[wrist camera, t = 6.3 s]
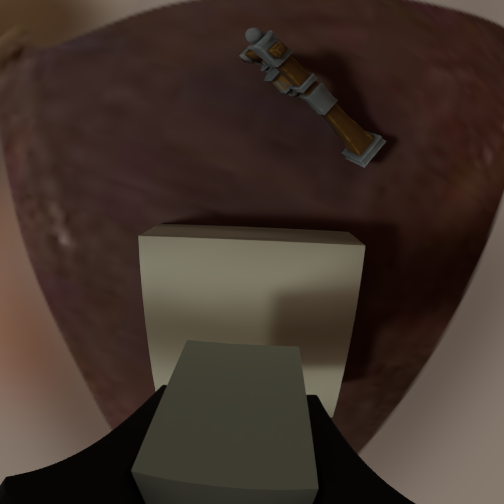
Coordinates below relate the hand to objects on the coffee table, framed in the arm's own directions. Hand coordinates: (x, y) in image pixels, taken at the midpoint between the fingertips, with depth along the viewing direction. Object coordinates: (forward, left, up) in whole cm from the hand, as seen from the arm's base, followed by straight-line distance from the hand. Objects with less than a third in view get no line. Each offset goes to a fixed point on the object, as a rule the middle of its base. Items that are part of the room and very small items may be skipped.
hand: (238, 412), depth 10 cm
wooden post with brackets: (+11, -2, -8) cm, 14 cm away
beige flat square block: (0, 0, -8) cm, 8 cm away
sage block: (0, 0, -2) cm, 2 cm away
